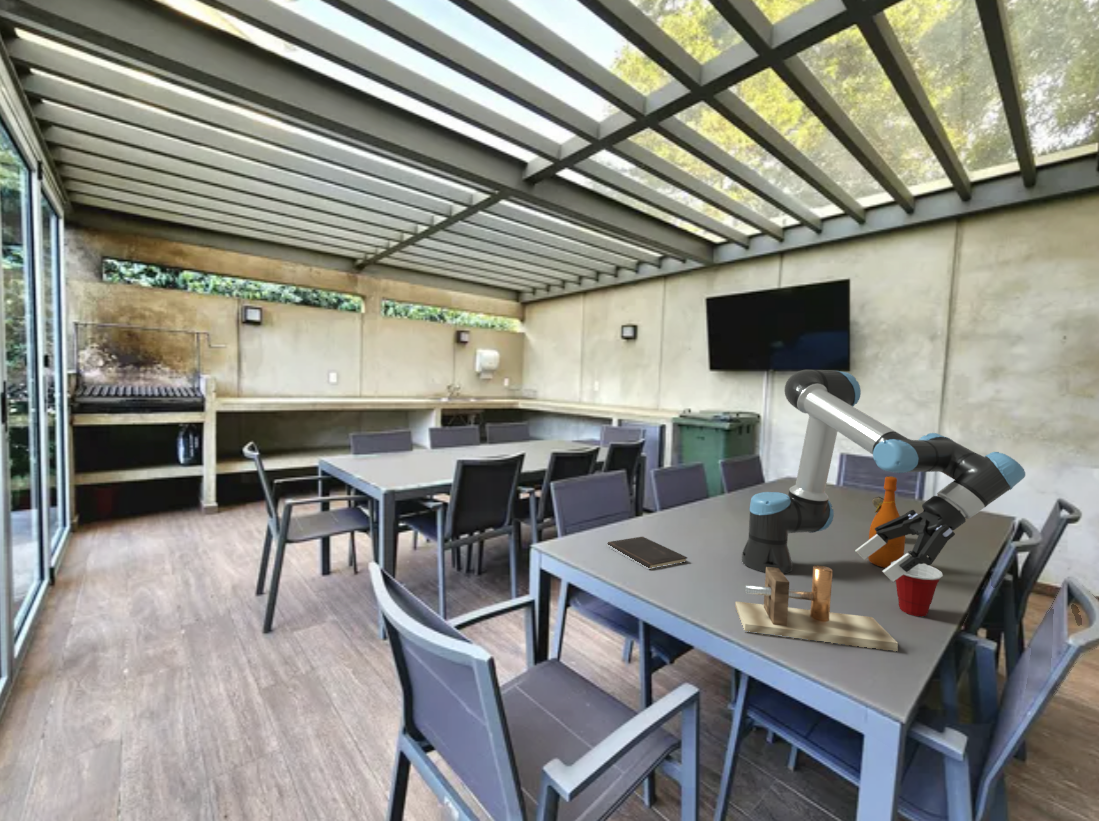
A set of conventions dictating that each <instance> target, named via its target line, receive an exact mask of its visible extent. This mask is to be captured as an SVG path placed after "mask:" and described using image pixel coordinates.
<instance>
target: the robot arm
mask: <svg viewBox="0 0 1099 821" xmlns="http://www.w3.org/2000/svg"><path fill="white" fill-rule="evenodd" d="M861 391H862V390H861V386H860V383H859V381H857V378H856V377H855V376H854V375H852V373H849V372H847V371H841V370H840V371H839V370H829V369H828V370H826V369H825V370H823V369H803V370H798V371H797V372H795V373H793V374H792V375H790V377H788V379H787V381H786V383H785V386H784V396H785V398H786V400H787V402H788V403H789V404H790V405H791V406H792V407H793V408H795V409H796V410H798V411H799V412H801V413H803V414H807V415H808V420H807V425H806V430H805V436H804V439H803V440H804V441H803V446H802V450H801V455H800V459H799V465H798V471H797V475H796V481H795V484H794V485H792V486H790V487H789V489H788V494H786V493H783V492H778V491H773V492H771V491H763V492H759V493H758V492H757V493H756V494H753V495H752V496H751V499H750V504H749V520H748V522H749V523H748V524H749V525H748V538H747V541H746V543H745V546H744V548H743V550H742V553H741V559H740V560H742V561H741V563H742V562H743V563H742V564H743V565H744V564H745V565H744V566H745V567H748V568H750V569H752V570H754V571H758V570H759V572H762V571H763V573H766V567H774V568H779V569H780V570H781V572H782V573H783V574H787V573H790V572H792V570H793V561H792V557H791V553H790V550H789V546H788V539H789V538H788V537H789V534H798V533H804V534H805V533H810V534H812V533H816V532H822V531H825V530H827V529H828V528H829V527H830V526H831V525H832V523H833V521H834V517H835V515H834V514H835V513H834V512H835V511H834V509H833V505H832V502H831V501H830V497H829V495H828V494H827V493H826V486H827V483H828V478H829V472H830V469H831V468H830V467H831V465H832V464H831V463H832V459H833V454H834V450H835V445H836V440H837V437H838V436H837V435H838V433H839V434H841V435H842V436H844V437H845V438H847V439H848V440H850V441H851V442H853V443H854V444H856V445H858V447H861V448H862V449H863V450H865V451H866V452H868V453H870V454H872V456H873V457H872V458H873V461H874V462H875V464H876V465H877V467H878V468H879V469H880V470H882V471H884V472H889V473H890V472H891V473H897V474H904V473H927V472H928V473H929V472H930V473H933V472H934V473H937V472H938V473H939V472H940V473H942V474H944V475H945V476H947V477H949V478H951V479H952V481H951V482H950V483H948V484H947V485H945V486H944V487H942V489H941V490H939V491H937V493H936V494H937V495H933V496H931V497H929V498H928V499H927V500H926V501H925V502H923V503H922V505H921V507H922V509H923V511H922V512H919V513H917V512H916V511H915V510H914V509H910V510H909V511H907V512H906V513H904V514H902V515H900V517H898V518H896V519H893V520H891V521H889V522H887V523H885V524H882V525H880V526H878V527H876V528H875V530H876V535H875V536H873V537H872V538H871V539H869V538H868V540H866V541H865V542H864V543H863V544H861V545H860V546H859V547H858V548H856V549H855V552H856V553H857V554H858V555H859V556H860V558H862V560H866V559H867V558H868V557H869V556H870V555H871V554H873V553H874V552H875V551H877V550H878V549H879V548H881V547H882V546H884V545H885V544H886V543H888V540H891V539H894V538H898V537H901V536H905V537H906V536H907V535H911V536H915V535H916V536H917V538H916V541H915V543H914V545H913V548H912V550H909V551H908V552H906V553H904V556H902V557H901V558H899V559H898V560H897V561H895V562H894V563H893V564H891V565H890V566H889V567H887V568H884V569H883V570H881V572H882V573H883V574H884V575H885V576H886V577H887V578H888V579H889V581H890V582H892V583H893V582H896V579H898V578H899V577H901V576H902V575H903V574H905V573H906V572H907V571H909V570H911V569H912V568H913V567H915V566H916V565H918V564H926V565H929V566H931V565H932V564H934V562H935V560H936V558H937V557H938V556H939V555H940V553H941V551H942V550H943V548H944V547H945V546H946V544H947V543H948V541H949V540H951V539H952V538H953V537H954V536H955V535H956V533H955V532H954V531H955V530H956V529H957V528H959V527H960V526H962V525H963V524H964V523H966V520H967V519H971V518H973V516H975V515H978V514H979V512H981V511H982V510H984V509H985V508H986V507H988V506H989V505H990V504H991V503H993V502H994V501H995V500H998V499H999V498H1000V497H1001V496H1003V495H1005V494H1006V493H1007V492H1009V491H1011V490H1013V489H1014V487H1015V486H1016V485H1018V484H1019V483H1020V482H1021V481H1022V480H1024V478H1025V477H1026V471H1025V469H1024V467H1023V466H1022V464H1020V463H1019V462H1018V461H1017V460H1015V459H1014V458H1013V457H1011V456H1009V455H1007V454H1006V453H1003V452H999V451H993V452H990V453H988V454H986V455H985V456H984V455H981V454H979V453H976V452H975V451H972V450H971V449H969V448H967V447H965V446H963V445H961V444H960V443H958V442H956V441H954V440H953V439H951V438H950V437H949V436H948V437H947V436H944V435H942V434H939V433H937V432H930V433H927V434H926V435H922V436H921V437H919V439H910V438H908V437H907V436H905V435H903V434H901V433H899V432H897V431H896V430H894V429H892V427H891V428H890V427H889V426H887V425H885V424H883V423H882V422H880V421H878V420H877V419H875V418H873V417H871V416H869V415H868V414H866V413H864V412H863V411H861V410H859V409H857V408H856V407H855V405H856V404H858V402H859V401H860V399H861V394H862V392H861Z"/></svg>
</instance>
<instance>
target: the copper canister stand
mask: <svg viewBox="0 0 1099 821" xmlns="http://www.w3.org/2000/svg"><path fill="white" fill-rule="evenodd" d="M764 587H771V588H772V590H771V596H766V595H763V604H761V603H753V602H744V601H735V606H734V607H735V608H736V610H737V612H736V614H737V613H738V615H739V617H738V619H739V618H740V619H739V621H740V620H741V622H740V624H741V623H742V624H741V626H742V625H743V627H742V629H743V628H744V629H743V631H744V630H745V631H748V632H749V631H750V632H757V633H765V634H773V635H774V634H775V635H782V636H789V637H794V638H802V639H808V640H807V641H810V640H816V641H815V642H817V641H824V642H823V643H825V642H831V643H830V644H833V643H838V644H837V645H841V644H845V645H844V646H849V645H852V646H851V647H857V646H859V648H864V647H867V648H866V649H872V648H876V649H875V650H880V649H883V650H882V651H888V650H893V651H892V652H896V651H897V652H898V650H899V649H898V647H899V642H897V640H896V639H895V638H893V636H892V635H891V634H890V633H889V632H888V631H887V630H886V629H885V628H884V627H883V626H882V625H881V624H879V622H877V620H876V619H875V618H874V617H873V616H865V615H857V614H850V613H849V614H848V613H840V612H831V611H830V616H829V621H827V622H822V621H818V620H815V619H813V618H812V617H811V616H810V610H811V609H805V608H796V607H790V606H789V599H790V598H789V589H790V581H789V580H788V578H787V577H786V575H785V573H782V572H781V570H780V569H779V568H774V567H766V572H765V579H764ZM736 610H735V611H736ZM738 615H737V616H738ZM794 638H793V639H794ZM802 639H801V640H802Z"/></svg>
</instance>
